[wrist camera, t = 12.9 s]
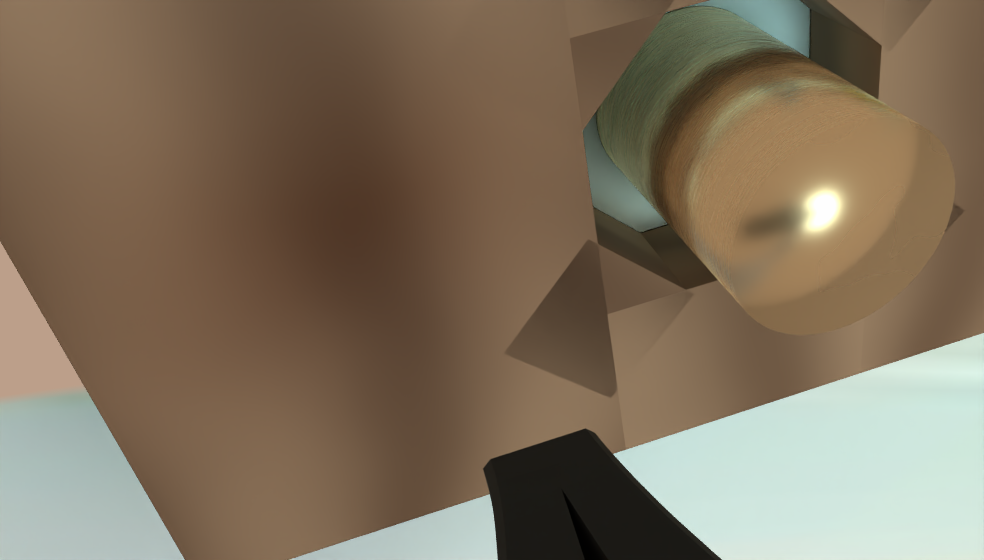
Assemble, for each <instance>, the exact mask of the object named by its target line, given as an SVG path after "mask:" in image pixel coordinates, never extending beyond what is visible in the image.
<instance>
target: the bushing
mask: <svg viewBox="0 0 984 560" xmlns="http://www.w3.org/2000/svg"><path fill="white" fill-rule="evenodd" d="M597 127H598V131H599V136H600V139H601V142H602V144H603V147H604V149H605V151H606V152H607V154H608V156H609V157H610V158H611V160H612V161H613V162H614V163H615V165H616V166H617V167H618V168H619V169H620V170H621V171H622V172H623V174H624V175H625V176H626V177H627V178H628V179H629V180H630V181H631V183H632V184H633V185H634V186H635V187H636V188H637V189H638V191H639V192H640V193H641V194H642V195H643V196H644V197H645V198H646V200H647V201H648V202H649V203H650V204H651V205H652V206H653V207H654V209H655V210H656V211H657V212H658V213H659V214H660V215H661V216H662V218H663V219H664V220H665V221H666V222H667V223H668V224H669V225H670V227H671V228H672V229H673V230H674V231H675V232H676V233H677V234H678V236H679V237H680V238H681V239H682V240H683V241H684V242H685V243H686V245H687V246H688V247H689V248H690V249H691V250H692V251H693V253H694V254H695V255H696V256H697V257H698V258H699V259H700V260H701V262H702V263H703V264H704V265H705V266H706V267H707V268H708V269H709V271H710V272H711V273H712V274H713V275H714V276H715V277H716V278H717V280H718V281H719V282H720V283H721V284H722V285H723V286H724V287H725V289H726V290H727V291H728V292H729V293H730V294H731V295H732V296H733V298H734V299H735V300H736V301H737V302H738V303H739V304H740V305H741V307H742V308H743V309H744V310H745V311H746V312H747V313H748V315H750V316H751V317H752V318H753V319H754V320H755V321H756V322H758V323H760V324H761V325H763V326H765V327H766V328H769V329H771V330H774V331H777V332H781V333H785V334H792V335H812V334H819V333H825V332H829V331H833V330H836V329H840V328H843V327H845V326H848V325H850V324H853V323H855V322H857V321H859V320H861V319H863V318H865V317H867V316H869V315H870V314H872V313H873V312H875V311H877V310H878V309H880V308H881V307H883V306H884V305H885V304H887V303H888V302H889V301H891V300H892V299H893V298H894V297H896V296H897V295H898V294H899V293H900V292H901V291H902V290H903V289H905V288H906V287H907V286H908V285H909V283H910V282H911V281H912V280H913V279H914V278H915V277H916V276H917V275H918V274H919V272H920V271H921V270H922V269H923V267H924V266H925V265H926V264H927V262H928V261H929V259H930V258H931V256H932V255H933V253H934V252H935V250H936V248H937V246H938V244H939V242H940V241H941V239H942V237H943V234H944V232H945V230H946V227H947V225H948V222H949V219H950V215H951V212H952V208H953V202H954V196H955V178H954V170H953V166H952V162H951V159H950V156H949V154H948V152H947V150H946V148H945V147H944V145H943V144H942V143H941V141H940V140H939V139H938V138H937V137H936V136H935V135H934V134H933V133H932V132H931V131H930V130H928V129H926V128H925V127H923V126H921V125H920V124H918V123H916V122H915V121H913V120H911V119H910V118H908V117H906V116H905V115H903V114H901V113H900V112H898V111H896V110H895V109H893V108H891V107H890V106H888V105H886V104H885V103H883V102H881V101H880V100H878V99H876V98H874V97H873V96H871V95H869V94H868V93H866V92H864V91H863V90H861V89H859V88H858V87H856V86H854V85H853V84H851V83H849V82H848V81H846V80H844V79H843V78H841V77H839V76H838V75H836V74H834V73H833V72H831V71H829V70H828V69H826V68H824V67H823V66H821V65H819V64H818V63H816V62H814V61H812V60H811V59H809V58H807V57H806V56H804V55H802V54H801V53H799V52H797V51H796V50H794V49H792V48H791V47H789V46H787V45H786V44H784V43H782V42H781V41H779V40H777V39H776V38H774V37H772V36H771V35H769V34H767V33H766V32H764V31H762V30H761V29H759V28H757V27H756V26H754V25H752V24H751V23H749V22H747V21H745V20H744V19H742V18H740V17H739V16H737V15H735V14H734V13H732V12H729V11H726V10H724V9H720V8H715V7H706V6H697V7H688V8H683V9H679V10H675V11H673V12H670V13H667V14H665V15H663V17H662V18H661V20H660V21H659V22H658V24H657V25H656V27H655V28H654V30H653V31H652V32H651V34H650V35H649V37H648V38H647V40H646V41H645V42H644V44H643V45H642V47H641V48H640V50H639V51H638V52H637V54H636V55H635V57H634V58H633V60H632V61H631V62H630V64H629V65H628V67H627V68H626V70H625V71H624V72H623V74H622V75H621V77H620V78H619V79H618V81H617V82H616V84H615V85H614V87H613V88H612V89H611V91H610V92H609V94H608V95H607V97H606V98H605V99H604V101H603V102H602V104H601V105H600V107H599V108H598V109H597Z"/></svg>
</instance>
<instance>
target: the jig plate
mask: <svg viewBox="0 0 984 560" xmlns="http://www.w3.org/2000/svg"><path fill="white" fill-rule="evenodd" d="M705 1H708V0H0V241H1V243H2V245H3V246H4V248H5V250H6V252H7V254H8V255H9V257H10V259H11V260H12V262H13V264H14V266H15V267H16V269H17V271H18V273H19V274H20V276H21V278H22V279H23V281H24V283H25V285H26V286H27V288H28V290H29V292H30V293H31V295H32V296H33V298H34V300H35V302H36V304H37V305H38V307H39V309H40V310H41V312H42V314H43V316H44V317H45V319H46V321H47V323H48V324H49V326H50V328H51V329H52V331H53V333H54V335H55V336H56V338H57V340H58V342H59V343H60V345H61V347H62V348H63V350H64V352H65V354H66V355H67V357H68V359H69V361H70V362H71V364H72V366H73V367H74V369H75V371H76V373H77V374H78V376H79V378H80V379H81V381H82V383H83V385H84V386H85V388H86V390H87V392H88V393H89V395H90V397H91V398H92V400H93V402H94V404H95V405H96V407H97V409H98V411H99V412H100V414H101V416H102V417H103V419H104V421H105V423H106V424H107V426H108V428H109V430H110V431H111V433H112V435H113V436H114V438H115V440H116V442H117V443H118V445H119V447H120V449H121V450H122V452H123V454H124V455H125V457H126V459H127V461H128V462H129V464H130V466H131V467H132V469H133V471H134V473H135V474H136V476H137V478H138V480H139V481H140V483H141V485H142V486H143V488H144V490H145V492H146V493H147V495H148V497H149V499H150V500H151V502H152V504H153V505H154V507H155V509H156V511H157V512H158V514H159V516H160V518H161V519H162V521H163V523H164V524H165V526H166V528H167V530H168V531H169V533H170V535H171V536H172V538H173V540H174V542H175V543H176V545H177V547H178V549H179V550H180V552H181V554H182V555H183V557H184V559H185V560H289V559H292V558H295V557H298V556H301V555H304V554H307V553H310V552H314V551H317V550H320V549H323V548H326V547H329V546H332V545H335V544H338V543H341V542H344V541H347V540H350V539H353V538H356V537H359V536H363V535H366V534H369V533H372V532H375V531H378V530H381V529H384V528H387V527H390V526H393V525H396V524H399V523H402V522H405V521H408V520H412V519H415V518H418V517H421V516H424V515H427V514H430V513H433V512H436V511H439V510H442V509H445V508H448V507H451V506H454V505H458V504H461V503H464V502H467V501H470V500H473V499H476V498H479V497H482V496H485V495H488V494H490V493H489V489H488V486H487V482H486V478H485V474H484V471H483V468H484V467H485V465H486V464H487V463H488V461H489V460H490V459H492V458H495V457H498V456H501V455H504V454H507V453H511V452H514V451H517V450H520V449H523V448H526V447H529V446H532V445H535V444H539V443H542V442H545V441H548V440H551V439H554V438H557V437H560V436H563V435H566V434H570V433H573V432H576V431H579V430H582V429H585V428H586V429H588V430H590V431H592V432H594V433H596V435H597V436H598V437H599V438H600V440H601V441H602V442H603V443H604V444H605V446H606V447H607V448H608V449H609V450H610V451H611V452H612V454H614V453H617V452H620V451H623V450H626V449H629V448H632V447H635V446H638V445H641V444H644V443H647V442H651V441H654V440H657V439H660V438H663V437H666V436H669V435H672V434H675V433H678V432H681V431H684V430H687V429H690V428H693V427H696V426H700V425H703V424H706V423H709V422H712V421H715V420H718V419H721V418H724V417H727V416H730V415H733V414H736V413H739V412H742V411H745V410H749V409H752V408H755V407H758V406H761V405H764V404H767V403H770V402H773V401H776V400H779V399H782V398H785V397H788V396H791V395H794V394H798V393H801V392H804V391H807V390H810V389H813V388H816V387H819V386H822V385H825V384H828V383H831V382H834V381H837V380H840V379H844V378H847V377H850V376H853V375H856V374H859V373H862V372H865V371H868V370H871V369H874V368H877V367H880V366H883V365H886V364H889V363H893V362H896V361H899V360H902V359H905V358H908V357H911V356H914V355H917V354H920V353H923V352H926V351H929V350H932V349H935V348H938V347H942V346H945V345H948V344H951V343H954V342H957V341H960V340H963V339H966V338H969V337H972V336H975V335H978V334H981V333H984V0H800V1H802V2H803V3H804V4H805V5H807V6H808V7H809V8H810V9H811V44H810V59H811V60H812V61H814V62H816V63H818V64H819V65H821V66H823V67H824V68H826V69H828V70H829V71H831V72H833V73H834V74H836V75H838V76H839V77H841V78H843V79H844V80H846V81H848V82H849V83H851V84H853V85H854V86H856V87H858V88H859V89H861V90H863V91H864V92H866V93H868V94H869V95H871V96H873V97H874V98H876V99H878V100H880V101H881V102H883V103H885V104H886V105H888V106H890V107H891V108H893V109H895V110H896V111H898V112H900V113H901V114H903V115H905V116H906V117H908V118H910V119H911V120H913V121H915V122H916V123H918V124H920V125H921V126H923V127H925V128H926V129H928V130H930V131H931V132H932V133H933V134H934V135H935V136H936V137H937V138H938V139H939V140H940V141H941V143H942V144H943V145H944V147H945V148H946V150H947V152H948V154H949V156H950V159H951V162H952V166H953V170H954V178H955V196H954V202H953V208H952V212H951V215H950V219H949V222H948V225H947V227H946V230H945V232H944V234H943V237H942V239H941V241H940V242H939V244H938V246H937V248H936V250H935V252H934V253H933V255H932V256H931V258H930V259H929V261H928V262H927V264H926V265H925V266H924V267H923V269H922V270H921V271H920V272H919V274H918V275H917V276H916V277H915V278H914V279H913V280H912V281H911V282H910V283H909V285H908V286H907V287H906V288H905V289H903V290H902V291H901V292H900V293H899V294H898V295H897V296H896V297H894V298H893V299H892V300H891V301H889V302H888V303H887V304H885V305H884V306H883V307H881V308H880V309H878V310H877V311H875V312H873V313H872V314H870V315H869V316H867V317H865V318H863V319H861V320H859V321H857V322H855V323H853V324H850V325H848V326H845V327H843V328H840V329H836V330H833V331H829V332H825V333H819V334H812V335H792V334H785V333H781V332H777V331H774V330H771V329H769V328H766V327H765V326H763V325H761V324H760V323H758V322H756V321H755V320H754V319H753V318H752V317H751V316H750V315H748V313H747V312H746V311H745V310H744V309H743V308H742V307H741V305H740V304H739V303H738V302H737V301H736V300H735V299H734V298H733V296H732V295H731V294H730V293H729V292H728V291H727V290H726V289H725V287H724V286H723V285H722V284H721V283H720V282H719V281H718V280H717V278H716V277H715V276H714V275H713V274H712V273H711V272H710V271H709V269H708V268H707V267H706V266H705V265H704V264H703V263H702V262H701V260H700V259H699V258H698V257H697V256H696V255H695V254H694V253H693V251H692V250H691V249H690V248H689V247H688V246H687V245H686V243H685V242H684V241H683V240H682V239H681V238H680V237H679V236H678V234H677V233H676V232H675V231H674V230H673V229H672V228H671V227H670V225H667V226H664V227H660V228H657V229H654V230H650V231H647V232H644V233H639V232H638V231H636V230H634V229H632V228H630V227H628V226H626V225H625V224H623V223H621V222H619V221H617V220H615V219H614V218H612V217H610V216H608V215H606V214H604V213H603V212H601V211H599V210H597V209H595V208H593V205H592V198H591V191H590V183H589V176H588V169H587V161H586V154H585V147H584V139H583V132H582V131H583V129H584V128H585V127H586V125H587V124H588V122H589V121H590V119H591V118H592V117H593V115H594V114H595V112H596V111H597V109H598V108H599V107H600V105H601V104H602V102H603V101H604V99H605V98H606V97H607V95H608V94H609V92H610V91H611V89H612V88H613V87H614V85H615V84H616V82H617V81H618V79H619V78H620V77H621V75H622V74H623V72H624V71H625V70H626V68H627V67H628V65H629V64H630V62H631V61H632V60H633V58H634V57H635V55H636V54H637V52H638V51H639V50H640V48H641V47H642V45H643V44H644V42H645V41H646V40H647V38H648V37H649V35H650V34H651V32H652V31H653V30H654V28H655V27H656V25H657V24H658V22H659V21H660V20H661V18H662V17H663V15H664V14H665V13H666V12H668V11H672V10H675V9H679V8H683V7H686V6H690V5H694V4H697V3H701V2H705Z"/></svg>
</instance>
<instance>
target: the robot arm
mask: <svg viewBox="0 0 984 560" xmlns="http://www.w3.org/2000/svg"><path fill="white" fill-rule="evenodd" d="M483 471H484V474H485V478H486V482H487V486H488V489H489V493H490V497H491V501H492V506H493V513H494V521H495V529H496V542H497V554H498V560H722V559H721V558H719V557H718V556H717V555H716V554H715V553H714V552H712V551H711V550H710V549H709V548H708V547H707V546H706V545H705V544H704V543H703V542H701V541H700V540H699V539H698V538H697V537H696V536H695V535H694V534H693V533H691V532H690V531H689V530H688V529H687V528H686V527H685V526H684V525H683V524H681V523H680V522H679V521H678V520H677V519H676V518H675V517H674V516H673V515H672V514H671V513H670V512H669V511H668V510H666V509H665V508H664V507H663V506H662V505H661V504H660V503H659V502H658V501H657V500H656V499H655V498H654V497H653V496H652V495H651V494H650V493H649V492H648V491H647V490H646V489H645V488H644V487H643V486H642V485H641V484H640V483H639V482H638V481H637V480H636V479H635V478H634V477H633V475H632V474H631V473H630V472H629V471H628V470H627V469H626V468H625V467H624V466H623V465H622V464H621V463H620V461H619V460H618V459H617V458H616V457H615V456H614V455H613V454H612V452H611V451H610V450H609V449H608V448H607V447H606V446H605V444H604V443H603V442H602V441H601V440H600V438H599V437H598V436H597V435H596V433H594V432H592V431H590V430H588V429H586V428H585V429H582V430H579V431H576V432H573V433H570V434H566V435H563V436H560V437H557V438H554V439H551V440H548V441H545V442H542V443H539V444H535V445H532V446H529V447H526V448H523V449H520V450H517V451H514V452H511V453H507V454H504V455H501V456H498V457H495V458H492V459H490V460H489V461H488V463H487V464H486V465H485V467H484V468H483Z"/></svg>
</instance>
